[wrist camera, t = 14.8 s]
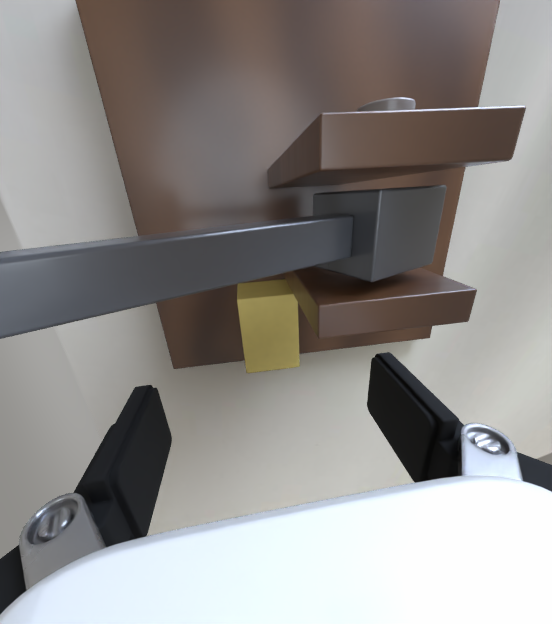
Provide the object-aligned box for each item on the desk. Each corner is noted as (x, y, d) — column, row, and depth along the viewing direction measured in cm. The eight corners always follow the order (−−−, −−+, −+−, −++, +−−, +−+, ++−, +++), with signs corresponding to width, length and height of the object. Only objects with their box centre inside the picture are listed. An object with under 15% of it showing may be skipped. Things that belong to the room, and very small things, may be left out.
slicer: (177, 360, 20) (104, 546, 9) (83, -5, 12) (-1340, -1851, 1) (420, 331, 22) (594, 459, 11) (483, -3, 14) (1356, -720, 3)
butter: (291, 343, 19) (299, 367, 17) (245, 348, 19) (246, 373, 16) (288, 278, 17) (297, 293, 15) (237, 283, 17) (236, 299, 14)
